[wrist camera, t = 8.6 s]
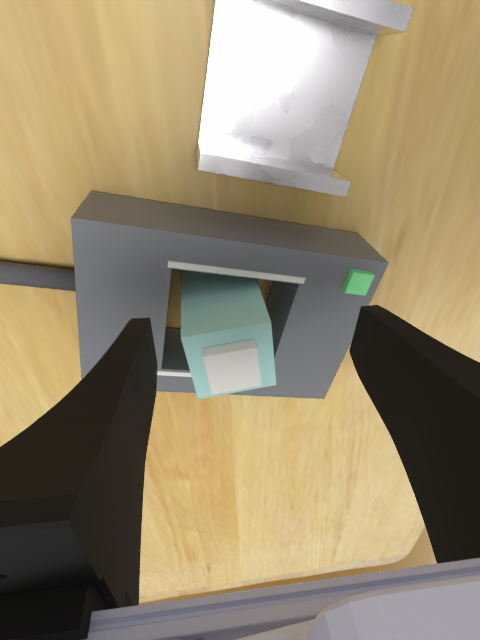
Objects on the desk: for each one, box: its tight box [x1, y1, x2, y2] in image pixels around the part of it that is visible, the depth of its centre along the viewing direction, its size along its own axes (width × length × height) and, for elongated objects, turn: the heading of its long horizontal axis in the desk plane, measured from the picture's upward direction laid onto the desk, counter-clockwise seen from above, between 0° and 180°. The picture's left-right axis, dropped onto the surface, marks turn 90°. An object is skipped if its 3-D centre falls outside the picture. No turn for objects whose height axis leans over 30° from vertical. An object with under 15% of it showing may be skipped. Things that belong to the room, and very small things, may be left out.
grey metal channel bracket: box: [196, 0, 414, 197], centre depth 15 cm, size 7×7×3 cm
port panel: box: [71, 191, 388, 399], centre depth 21 cm, size 15×10×4 cm, turn 79°
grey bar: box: [0, 261, 76, 291], centre depth 19 cm, size 9×1×1 cm, turn 79°
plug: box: [181, 270, 276, 399], centre depth 19 cm, size 4×4×8 cm
